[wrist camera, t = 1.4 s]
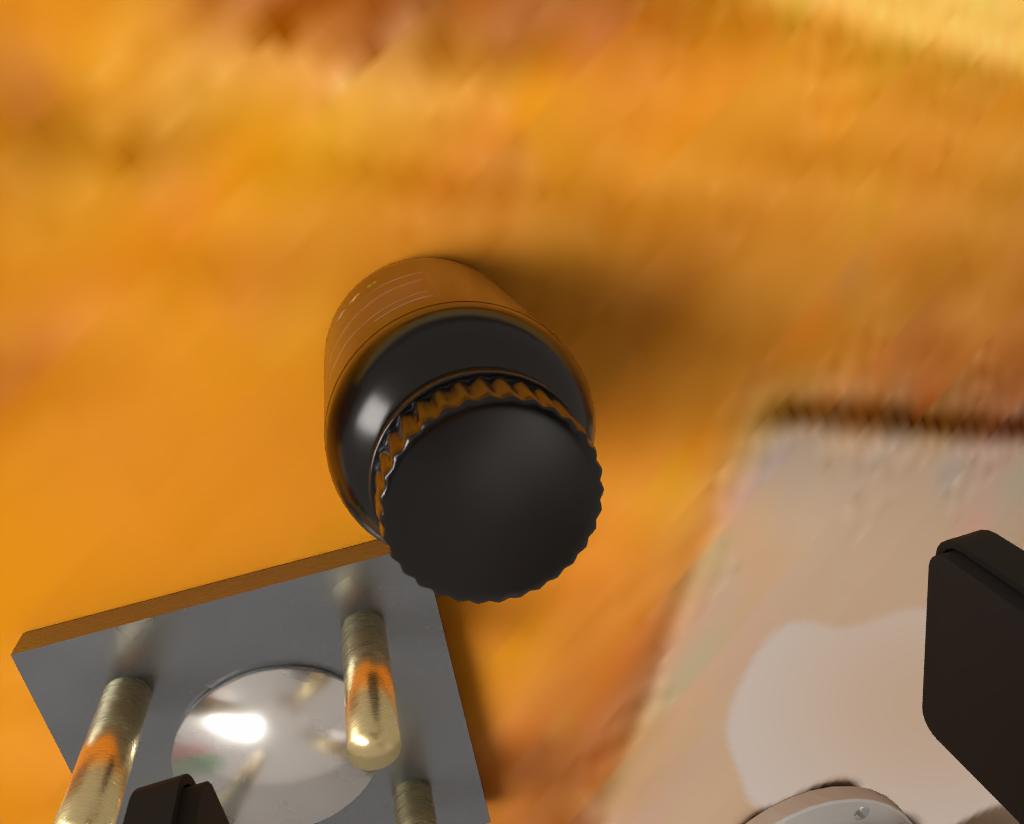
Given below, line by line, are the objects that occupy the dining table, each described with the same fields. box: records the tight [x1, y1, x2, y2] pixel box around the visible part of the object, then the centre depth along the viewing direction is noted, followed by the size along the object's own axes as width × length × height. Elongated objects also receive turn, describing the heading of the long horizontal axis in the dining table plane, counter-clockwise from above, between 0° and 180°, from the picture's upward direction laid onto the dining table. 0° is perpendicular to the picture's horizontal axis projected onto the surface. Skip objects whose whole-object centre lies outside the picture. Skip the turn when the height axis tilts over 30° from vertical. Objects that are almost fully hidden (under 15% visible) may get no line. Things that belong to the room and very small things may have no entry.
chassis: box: [11, 540, 491, 824], centre depth 28 cm, size 14×14×7 cm
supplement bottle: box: [324, 258, 604, 604], centre depth 22 cm, size 7×7×12 cm
